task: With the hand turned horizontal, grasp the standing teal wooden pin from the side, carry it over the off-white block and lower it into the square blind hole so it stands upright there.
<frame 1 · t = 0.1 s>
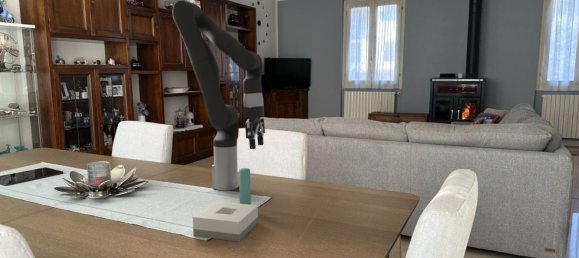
hand: (256, 147, 150), 17 cm above the table, tool pointing down, fingers open, 8 cm apart
block: (227, 229, 113), on the table
pin: (245, 210, 129), on the table
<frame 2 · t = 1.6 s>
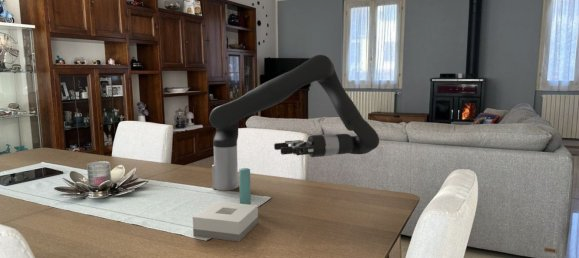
hand: (277, 148, 129), 20 cm above the table, tool horizontal, fingers open, 8 cm apart
nothing on the table moved.
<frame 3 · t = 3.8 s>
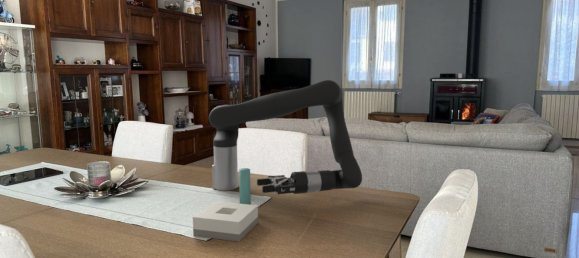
hand: (259, 185, 129), 8 cm above the table, tool horizontal, fingers open, 8 cm apart
nothing on the table moved.
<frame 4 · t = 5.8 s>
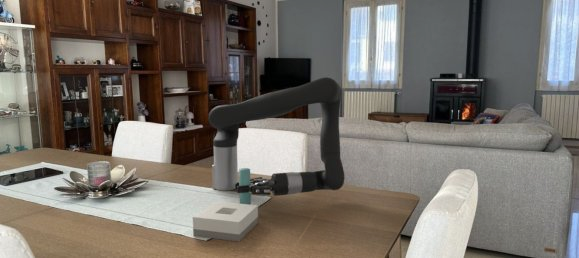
hand: (236, 187, 127), 8 cm above the table, tool horizontal, fingers closed on pin, 3 cm apart
pin: (245, 210, 129), on the table, touching gripper
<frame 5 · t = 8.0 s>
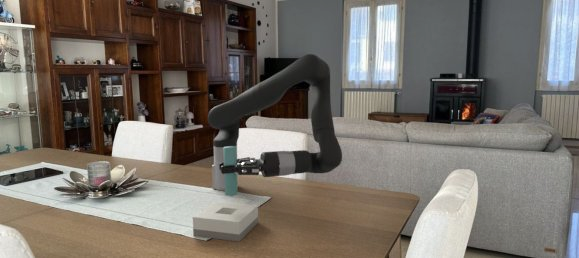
hand: (220, 168, 112), 18 cm above the table, tool horizontal, fingers closed on pin, 3 cm apart
pin: (231, 194, 114), point 10 cm above the table, touching gripper
when the fingers open (11 cm above the table, at t = 10.2 s): pin stays where it is, resting on block.
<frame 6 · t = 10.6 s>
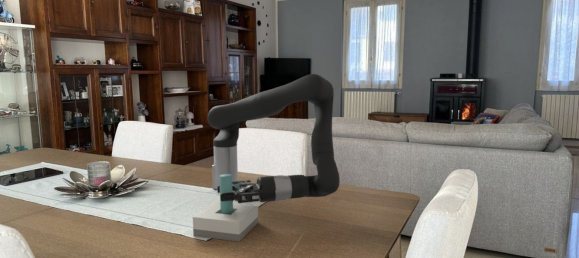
hand: (218, 193, 111), 11 cm above the table, tool horizontal, fingers open, 7 cm apart
pin: (227, 222, 113), point 2 cm above the table, touching block
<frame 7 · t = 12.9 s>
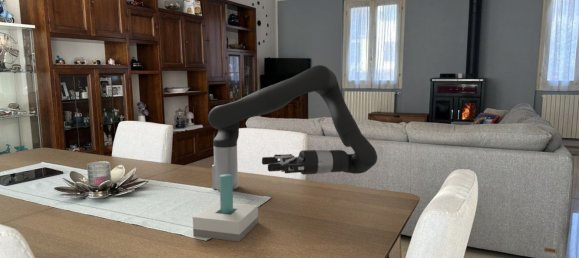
hand: (264, 164, 117), 18 cm above the table, tool horizontal, fingers open, 8 cm apart
nothing on the table moved.
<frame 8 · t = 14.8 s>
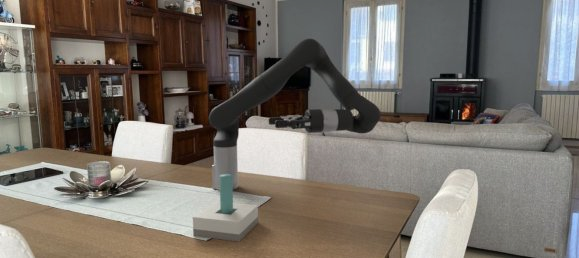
hand: (272, 122, 120), 30 cm above the table, tool horizontal, fingers open, 8 cm apart
nothing on the table moved.
at the end: pin 0.1 cm off-centre on the block, point 2.0 cm above the block's base; pin tilted 0°; the gripper is holding nothing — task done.
